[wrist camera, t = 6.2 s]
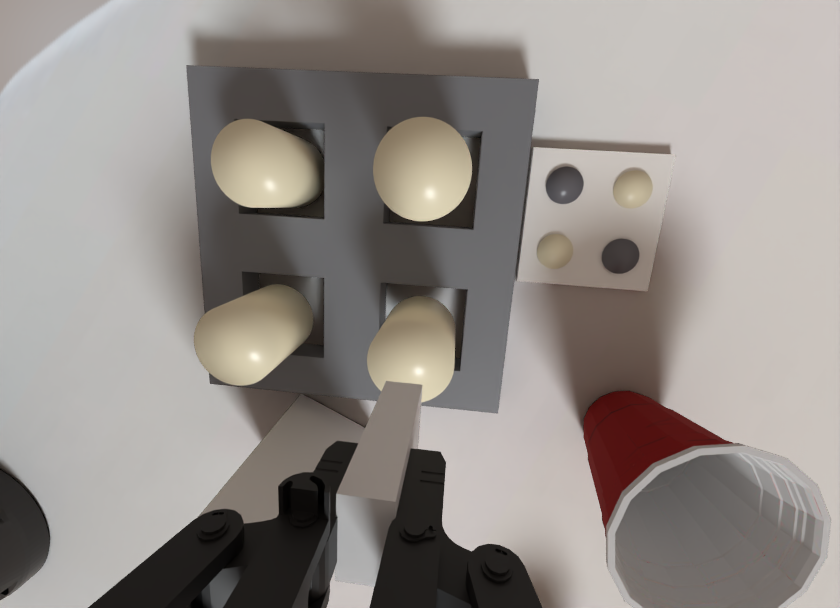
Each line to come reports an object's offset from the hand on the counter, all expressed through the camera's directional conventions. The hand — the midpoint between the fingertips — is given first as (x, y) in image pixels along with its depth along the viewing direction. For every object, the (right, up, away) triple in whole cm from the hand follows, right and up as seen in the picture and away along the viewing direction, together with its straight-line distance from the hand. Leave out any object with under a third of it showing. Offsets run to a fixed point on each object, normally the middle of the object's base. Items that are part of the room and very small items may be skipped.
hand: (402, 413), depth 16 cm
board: (-4, +9, +13) cm, 16 cm away
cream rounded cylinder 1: (-8, +14, +12) cm, 20 cm away
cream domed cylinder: (+1, +12, +9) cm, 15 cm away
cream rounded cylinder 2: (-9, +4, +12) cm, 15 cm away
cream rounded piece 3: (+1, +3, +11) cm, 12 cm away
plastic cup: (+17, -5, +15) cm, 23 cm away
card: (+13, +10, +11) cm, 20 cm away
